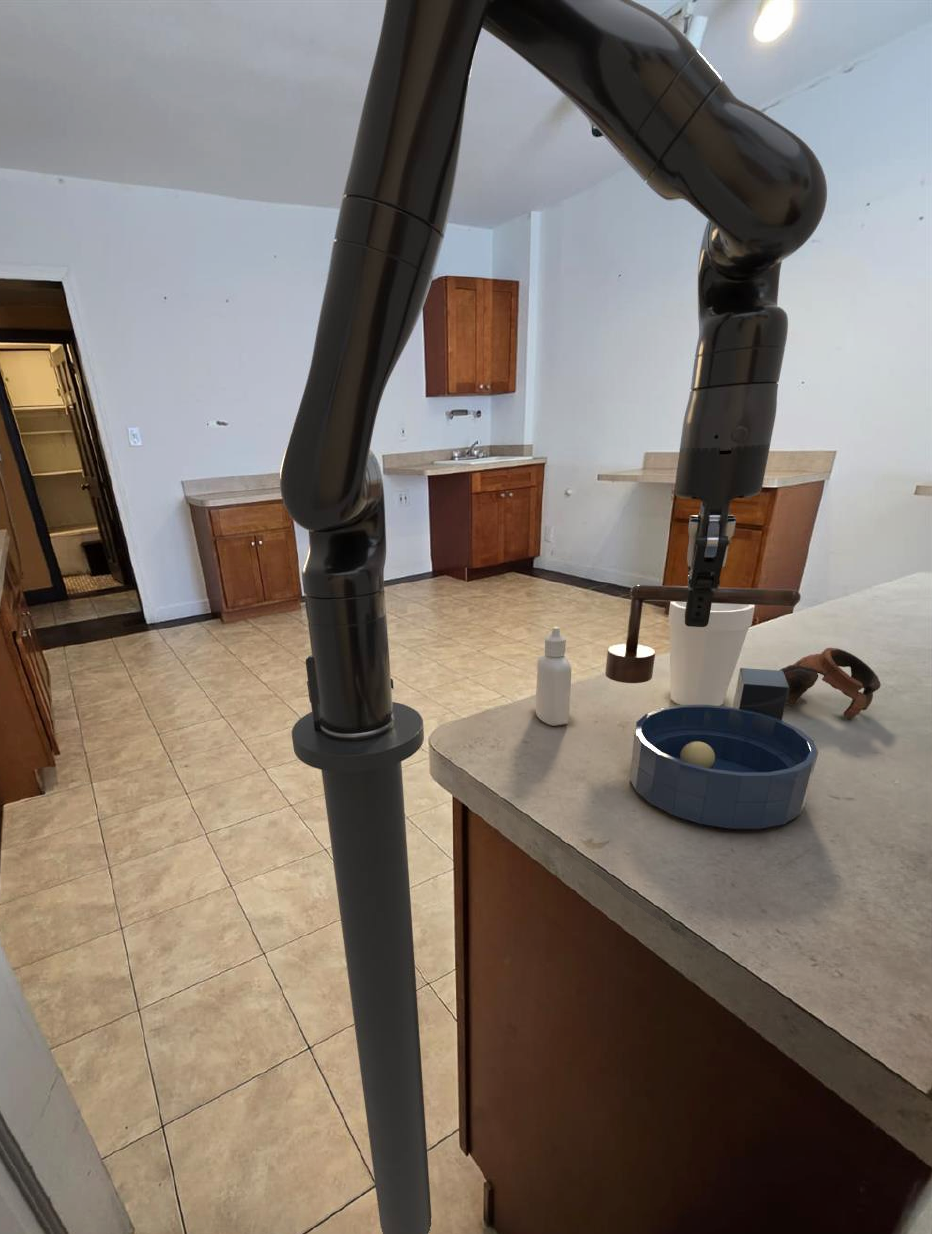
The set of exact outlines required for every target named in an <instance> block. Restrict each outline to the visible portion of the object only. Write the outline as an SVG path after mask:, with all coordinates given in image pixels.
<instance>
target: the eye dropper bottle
mask: <svg viewBox="0 0 932 1234" xmlns="http://www.w3.org/2000/svg"><path fill="white" fill-rule="evenodd" d="M544 639H545V640H544V654H542V655H540V656H539V657H538V659H537V666H536V689H535V715H536V716H537V718H538V719H539V720H540V721H541V722H543V723H545V724H546V725H549V726H554V727H555V726H564V725H567V724H568V723H569V720H570V719H569V718H570V705H571V704H570V703H571V701H570V700H571V687H572V666H571V665H572V664H571V663H570V661H569V659H568V658H567V657H566V656H565V655H566V642H567V639H566V637H564V636H562V635H561V633H560V627H559V626H553V627H552V631H551V634H550V635H549V636H547V637H546V638H544Z"/></svg>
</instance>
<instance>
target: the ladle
mask: <svg viewBox="0 0 932 1234" xmlns="http://www.w3.org/2000/svg"><path fill="white" fill-rule="evenodd" d="M687 586H688V585H685V586H683V585H657V584H655V585H653V584H651V585H650V584H637V585H633V586H632V587H631V588H630V591H629V595H630V608H629V616H628V623H627V624H628V625H627V632H626V633H627V635H626V641H625V643H619V644H614V645H611V646H609V647H608V648H607V652H606V653H607V654H606V662H605V677H606V678H608V679H609V680H611V681H615V682H618V683H624V684H641V683H642V684H643V683H647V682H649V681H651V680H652V678H653V676H654V675H653V673H654V666H655V659H656V650H655V649H654V648H652V647H649V646H647V645H644V644H639V638H640V630H641V622H642V613H643V604H644V601H645V602H647V601H649V602H688V595H689V587H687ZM801 598H802V597H801V593H800V592H799V591H798V590H796V589H785V588H783V589H781V588H780V589H779V588H754V587H753V588H752V587H751V588H750V587H749V588H747V587H719V586H718V588H717V589H716V590H715V591H714V593H713V599H712V603H720V604H745V605H755V606H773V607H774V606H775V607H776V606H777V607H794V606H796V605H797V604H799V603H800V602H801Z"/></svg>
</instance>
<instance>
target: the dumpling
mask: <svg viewBox="0 0 932 1234" xmlns="http://www.w3.org/2000/svg"><path fill="white" fill-rule="evenodd" d="M680 760H681V761H684V762H687V763H691V764H695V765H699V766H703V767H707V768H711V767H712V766H713V764H714V762H715V753H714V751H713V749H712V748H711V747H710V746H709V745H708V744H706V743H704V742H699V741H695V742H691V743H688V744H687V745H685V746H684V747H683V749H682V750H681V753H680Z"/></svg>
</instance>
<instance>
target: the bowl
mask: <svg viewBox="0 0 932 1234" xmlns="http://www.w3.org/2000/svg"><path fill="white" fill-rule="evenodd" d="M633 736H634V737H633V743H632V744H633V745H632V753H631V754H632V755H631V763H630V771H629V780H630V782H631V784H632V786H633V788H634V790H635V792H637V794H639V795H640V796H641V797H642V798H643V799H644V800H646V801H647V802H648V803H649V804H651V805H653V806H654V807H657V808H659V809H660V810H663V811H664V812H666V813H668V814H669V815H672V816H675V817H678V818H681V819H684V820H687V821H691V822H693V823H697V824H700V825H704V826H705V825H706V826H712V827H718V828H724V829H731V830H761V829H766V828H771V827H777V826H781V825H785V824H786V823H788V822H790V821H792V820H793V819H795V818H797V817H799V816H800V815H801V813H802V811H803V809H804V807H805V805H806V802H807V797H808V794H809V790H810V786H811V783H812V780H813V775H814V771H815V767H816V763H817V761H818V760H817V759H818V757H819V751H818V748H817V745H816V744H815V740H814V739H812V738H811V737H810V736H809V735H807V733H805V732H804V731H802V730H801V729H800V728H798V727H796V726H794V725H792V724H790V723H788V722H786V721H784V720H783V719H782V720H780V719H777V718H774V717H770V716H767V715H764V714H761V713H758V712H753V711H748V710H743V709H738V708H733V706H725V705H720V706H714V705H680V704H677V705H673V706H667V707H661V708H658V709H655V710H653V711H649V712H647V713H645V714H644V715H643V716H642V717H640V718H639V719H638V720H637V721H636V723H635V728H634V735H633ZM695 741H699V742H704V743H706V744H708V745H709V746H710V747H711V748H712V749H713V751H714V753H715V762H714V764H713V766H712V767H711V768H707V767H703V766H699V765H695V764H691V763H687V762H684V761H681V760H680V753H681V750H682V749H683V747H684V746H685V745H687V744H688V743H691V742H695Z"/></svg>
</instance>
